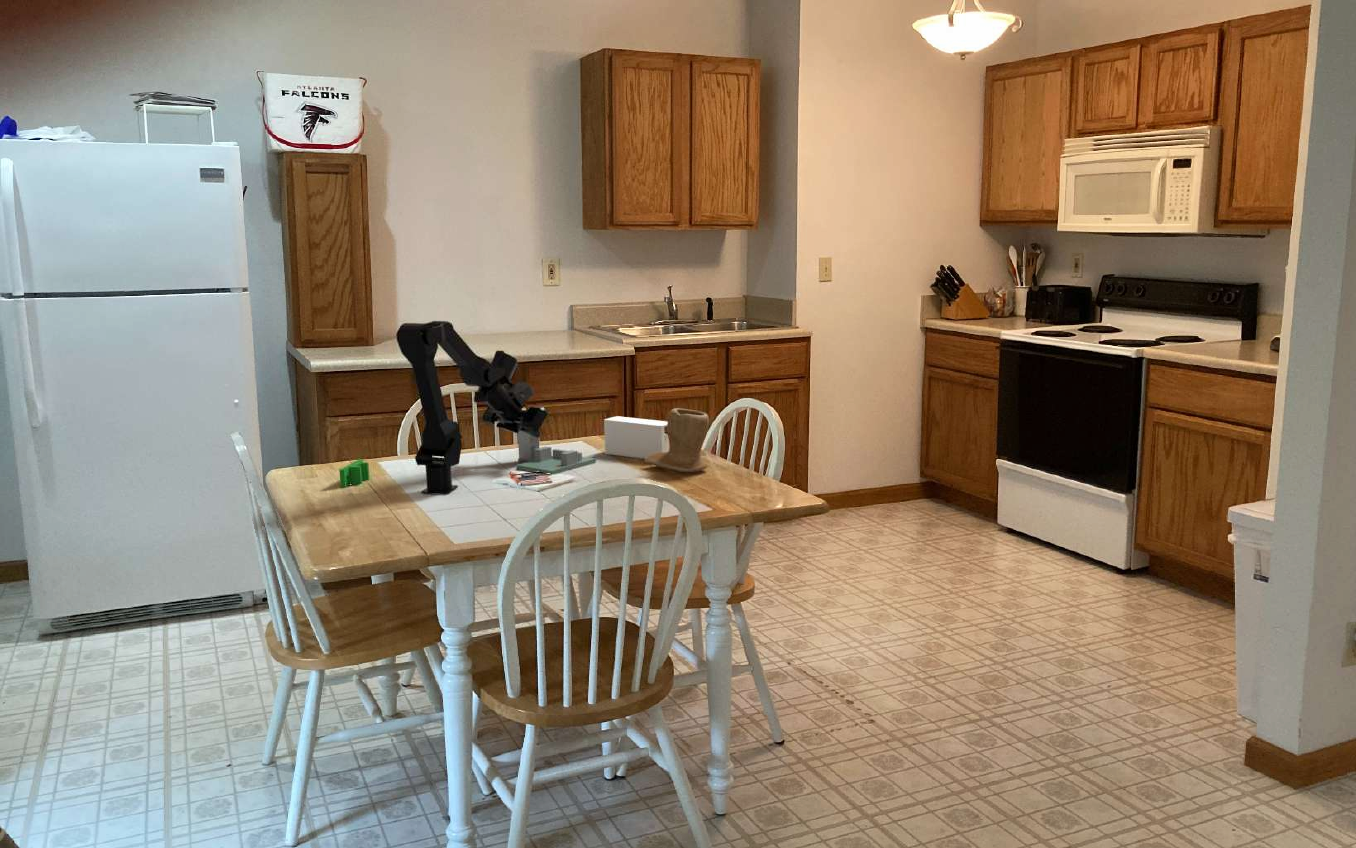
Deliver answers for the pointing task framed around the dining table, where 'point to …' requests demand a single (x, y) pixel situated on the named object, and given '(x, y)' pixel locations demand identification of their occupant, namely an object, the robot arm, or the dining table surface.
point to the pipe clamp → (354, 473)
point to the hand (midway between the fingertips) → (532, 435)
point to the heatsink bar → (526, 445)
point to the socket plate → (555, 461)
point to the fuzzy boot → (683, 441)
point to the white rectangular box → (634, 437)
